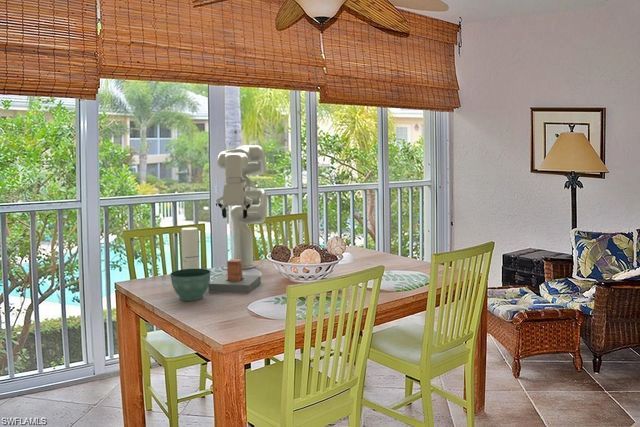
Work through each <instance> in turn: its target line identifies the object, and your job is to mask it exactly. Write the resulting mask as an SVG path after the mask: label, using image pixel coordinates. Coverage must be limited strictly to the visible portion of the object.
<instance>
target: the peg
mask: <svg viewBox="0 0 640 427" xmlns="http://www.w3.org/2000/svg"><path fill="white" fill-rule="evenodd" d="M226 264H227V265H226V266H227V271H226V272H227V274H228V281H238V282H240V281H241V280H242V275H243V269H242V260H240V259H234V258H233V259H232V258H231V259H229V260H228V261H227V262H226Z"/></svg>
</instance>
